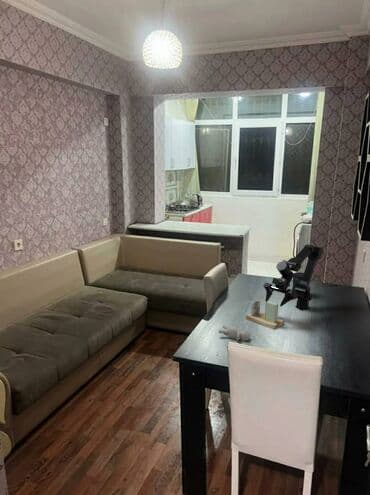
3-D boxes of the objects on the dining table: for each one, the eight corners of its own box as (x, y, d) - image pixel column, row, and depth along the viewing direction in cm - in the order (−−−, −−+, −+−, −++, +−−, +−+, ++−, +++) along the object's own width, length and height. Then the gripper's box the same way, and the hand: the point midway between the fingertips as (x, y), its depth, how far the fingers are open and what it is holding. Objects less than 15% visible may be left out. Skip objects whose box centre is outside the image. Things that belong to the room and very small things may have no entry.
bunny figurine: (247, 337, 171) (218, 327, 177) (245, 346, 173) (216, 336, 179) (252, 329, 180) (224, 320, 186) (250, 338, 181) (223, 329, 187)
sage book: (268, 317, 198) (269, 300, 196) (277, 321, 194) (278, 303, 192) (264, 319, 196) (265, 302, 194) (274, 322, 192) (275, 305, 190)
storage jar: (308, 295, 240) (310, 273, 237) (304, 299, 232) (306, 277, 228) (293, 292, 245) (295, 271, 242) (289, 296, 237) (291, 275, 234)
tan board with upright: (256, 314, 208) (257, 297, 206) (283, 323, 195) (284, 306, 193) (245, 318, 201) (246, 302, 199) (273, 329, 189) (274, 311, 186)
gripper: (265, 268, 200) (253, 292, 196) (295, 276, 187) (282, 301, 182) (273, 279, 207) (261, 302, 202) (302, 286, 194) (290, 311, 189)
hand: (273, 303), depth 194 cm, fingers open, 9 cm apart
